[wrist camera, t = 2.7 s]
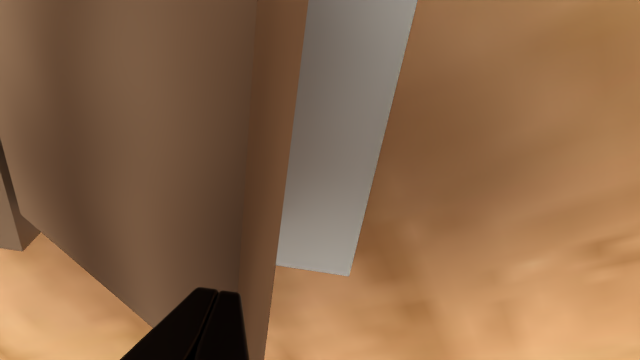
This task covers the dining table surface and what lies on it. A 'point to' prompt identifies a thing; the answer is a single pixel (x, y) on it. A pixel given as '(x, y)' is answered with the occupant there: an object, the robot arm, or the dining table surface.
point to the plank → (155, 141)
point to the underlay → (339, 127)
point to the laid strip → (12, 214)
